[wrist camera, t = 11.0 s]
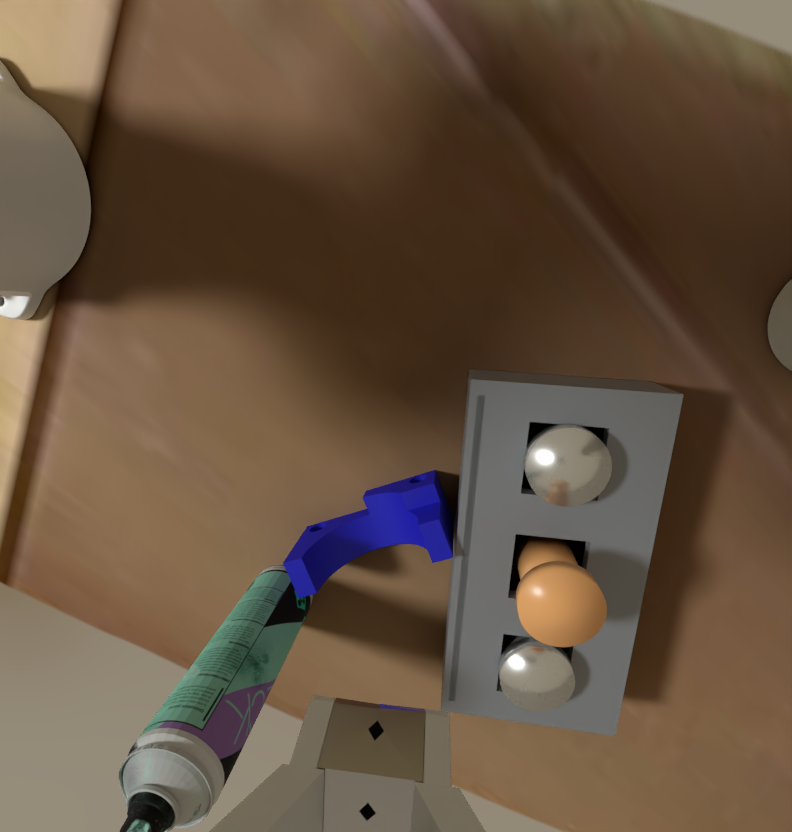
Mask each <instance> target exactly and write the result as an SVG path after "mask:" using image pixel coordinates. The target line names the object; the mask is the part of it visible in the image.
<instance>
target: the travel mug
mask: <svg viewBox="0 0 792 832" xmlns="http://www.w3.org/2000/svg"><path fill="white" fill-rule="evenodd" d="M768 339H769V343H770V346H771V349H772V351H773V353H774V355H775V356H776V358H777V359H778V360H779V361H780V362H781V364H783V365H784V366H785V367H786V368H787V369H789V370H790V371H792V279H791V280H790V281H789V282H788V283H787V284H786V285H785V286H784V288H783V289H782V290H781V292H780V293H779V295H778V296H777V298H776V300H775V302H774V304H773V306H772V308H771V311H770V315H769V319H768Z"/></svg>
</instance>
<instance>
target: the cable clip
mask: <svg viewBox="0 0 792 832" xmlns="http://www.w3.org/2000/svg"><path fill="white" fill-rule="evenodd" d="M363 499H364V502H365V504H366V507H367V509H365V510H362V511H358V512H355V513H352V514H348V515H345V516H341V517H338V518H335V519H331V520H328V521H324V522H321V523H318V524H314V525H311V526H307V528H306V529H305V531H304V532H303V534H302V535H301V537H300V538H299V540H298V541H297V543H296V544H295V546H294V547H293V549H292V550H291V552H290V553H289V555H288V556H287V558H286V559H285V561H284V562H283V564H284V566H285V569H286V571H287V573H288V575H289V578H290V580H291V582H292V584H293V587H294V589H295V591H296V593H297V596H298V598H301V597H305V596H309V595H313V594H316V593H317V592H318V590H319V589H320V587H321V586H322V585H323V583H324V582H325V581H326V580H327V579H328V578H329V577H330V576H331V575H332V574H333V573H334V572H336V571H337V570H338V569H339V568H341V567H342V566H344V565H345V564H347V563H348V562H350V561H351V560H353V559H355V558H357V557H359V556H361V555H363V554H365V553H368V552H370V551H373V550H375V549H378V548H382V547H385V546H390V545H396V544H415V545H419V546H422V547H424V548H426V549H427V550H428V552H429V555H430V557H431V560H432V563H434V562H438V561H442V560H445V559H449V558H453V528H454V520H453V517H452V514H451V512H450V509H449V506H448V503H447V501H446V498H445V495H444V492H443V490H442V487H441V484H440V481H439V479H438V476H437V473H436V470H434V471H430V472H427V473H424V474H421V475H417V476H414V477H411V478H407V479H404V480H401V481H397V482H394V483H391V484H388V485H384V486H381V487H378V488H374V489H371V490H368V491H366V492H365V494H364V496H363Z"/></svg>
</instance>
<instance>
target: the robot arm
mask: <svg viewBox="0 0 792 832" xmlns="http://www.w3.org/2000/svg"><path fill="white" fill-rule="evenodd" d="M90 218H91V199H90V191H89V185H88V180H87V176H86V173H85V170H84V167H83V164H82V161H81V159H80V157H79V154H78V152H77V150H76V148H75V146H74V145H73V143H72V141H71V140H70V138H69V137H68V135H67V134H66V132H65V131H64V130H63V128H62V127H61V126H60V125H59V123H58V122H57V121H56V120H55V119H54V118H53V117H52V116H51V115H50V114H49V113H48V112H46V111H45V110H44V109H43V108H41V107H40V106H39V105H38V104H36V103H35V102H34V101H32V100H31V99H30V98H28V97H27V96H26V95H25V94H24V93H23V92H22V91H21V90H20V88H19V87H18V85H17V83H16V82H15V80H14V79H13V77H12V75H11V74H10V72H9V71H8V70H7V68H6V67H5V65H4V64H3V63H2V62H1V61H0V316H3V317H7V318H10V319H19V320H26V319H29V318H31V317H32V316H33V315H34V313H35V312H36V310H37V308H38V306H39V304H40V302H41V300H42V298H43V296H44V293H45V292H46V291H47V290H48V289H49V288H50V287H51V286H52V285H53V284H55V283H56V282H57V281H58V280H60V279H61V278H62V277H63V276H65V275H66V274H67V273H68V272H69V271H70V270H71V268H72V267H73V266H74V264H75V263H76V261H77V260H78V258H79V256H80V255H81V253H82V250H83V248H84V246H85V243H86V240H87V236H88V232H89V227H90ZM3 298H4V301H5V303H4V301H3ZM209 832H486V831H485V830H484V828H483V827H482V825H481V823H480V822H479V820H478V818H477V817H476V815H475V814H474V812H473V810H472V809H471V807H470V805H469V804H468V802H467V800H466V799H465V797H464V796H463V794H462V792H461V791H460V789H459V788H455V787H452V781H451V745H450V716H449V713H448V712H445V711H437V710H428V709H426V710H425V709H420V708H411V707H402V706H393V705H384V704H373V703H367V702H360V701H354V700H347V699H341V698H331V697H325V696H318V695H313V697H312V698H311V700H310V702H309V705H308V709H307V712H306V715H305V718H304V721H303V724H302V727H301V730H300V734H299V737H298V740H297V743H296V746H295V749H294V752H293V755H292V759H291V762H290V765H286V764H282V765H281V766H280V767H279V768H278V769H277V770H276V771H275V772H273V773H272V774H271V775H270V776H269V777H268V778H267V779H266V780H265V781H264V782H263V783H261V784H260V785H259V786H258V787H257V788H256V789H255V790H254V791H253V792H252V793H251V794H249V795H248V796H247V797H246V798H245V799H244V800H243V801H242V802H241V803H240V804H239V805H238V806H237V807H235V808H234V809H233V810H232V811H231V812H230V813H229V814H228V815H227V816H226V817H224V818H223V819H222V820H221V821H220V822H219V823H218V824H217V825H216V826H215V827H214V828H212V829H211V830H210V831H209Z"/></svg>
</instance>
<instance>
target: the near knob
mask: <svg viewBox="0 0 792 832" xmlns="http://www.w3.org/2000/svg"><path fill="white" fill-rule="evenodd" d="M524 471H525V474H526V477H527V479H528V482H529V484H530V486H531V488H532V489H533V491H534V492H535V493H536V494H537V495H538V496H539V497H540V498H542V499H543V500H545V501H546V502H548V503H551V504H553V505H557V506H563V507H571V506H578V505H582V504H585V503H587V502H589V501H591V500H592V499H594V498H595V497H597V496H598V495H599V494H600V493H601V492H602V491H603V490H604V488H605V487H606V485H607V483H608V482H609V479H610V476H611V472H612V461H611V456H610V453H609V451H608V449H607V447H606V446H605V444H604V443H603V442H602V441H601V440H600V439H599V438H598V437H597V436H596V435H595V434H594V433H592V432H591V431H590V430H588V429H586V428H584V427H582V426H579V425H575V424H551V423H538V422H533V423H532V424H530V426H529V431H528V439H527V447H526V451H525V455H524Z"/></svg>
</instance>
